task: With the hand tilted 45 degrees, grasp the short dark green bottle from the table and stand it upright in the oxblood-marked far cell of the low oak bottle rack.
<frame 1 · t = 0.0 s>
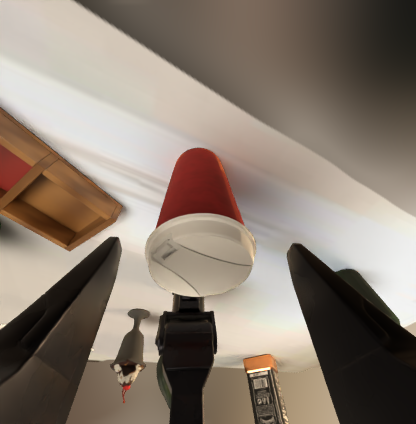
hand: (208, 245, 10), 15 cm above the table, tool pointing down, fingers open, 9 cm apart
rack: (34, 175, 23), on the table
potion bottle: (340, 277, 41), on the table
squash: (183, 344, 62), on the table
sundae: (139, 312, 47), on the table
paper cup: (199, 169, 24), on the table
whiskey bottle: (259, 359, 75), on the table
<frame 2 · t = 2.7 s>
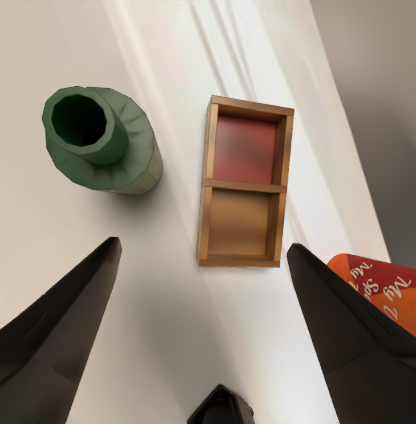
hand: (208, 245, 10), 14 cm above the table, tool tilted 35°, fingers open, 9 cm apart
bottle: (133, 166, 22), on the table
rack: (239, 187, 25), on the table
paper cup: (341, 272, 28), on the table
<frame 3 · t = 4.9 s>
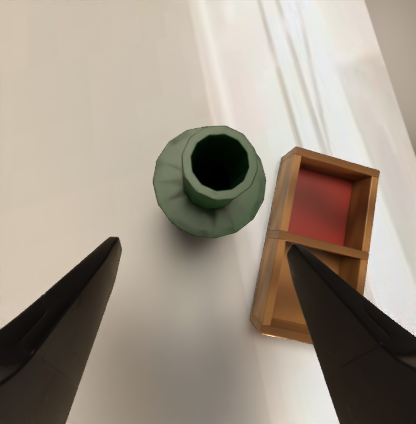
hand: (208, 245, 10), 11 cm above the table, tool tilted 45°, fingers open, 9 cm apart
bottle: (199, 204, 21), on the table
rack: (306, 243, 22), on the table
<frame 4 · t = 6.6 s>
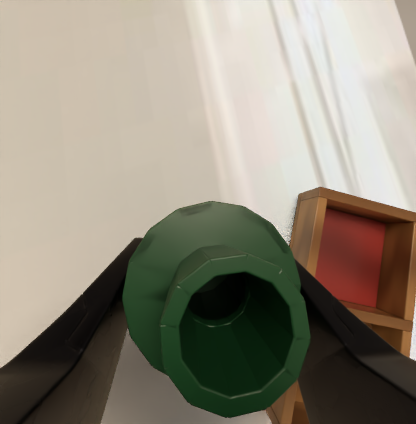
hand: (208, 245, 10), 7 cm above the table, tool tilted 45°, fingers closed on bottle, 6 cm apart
bottle: (198, 256, 17), on the table, touching gripper
rack: (329, 301, 18), on the table
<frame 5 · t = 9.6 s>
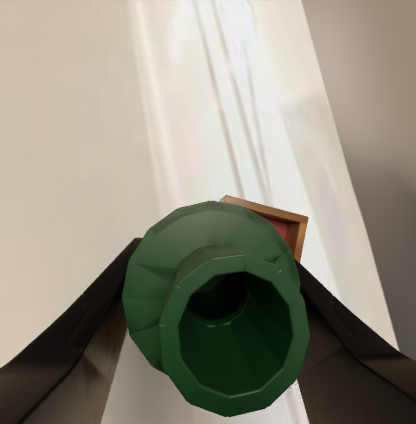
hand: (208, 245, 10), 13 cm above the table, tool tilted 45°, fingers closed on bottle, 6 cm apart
bottle: (198, 256, 17), point 6 cm above the table, touching gripper
rack: (241, 283, 23), on the table
when the fingers open (8 cm above the table, at t = 12.5 s): bottle stays where it is, resting on rack.
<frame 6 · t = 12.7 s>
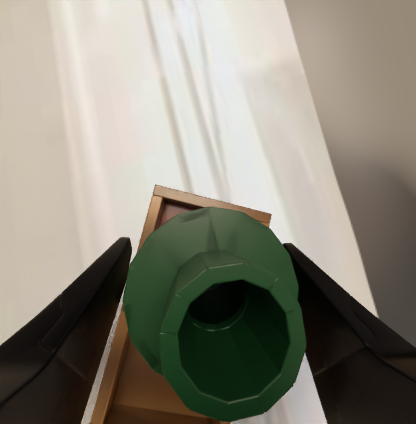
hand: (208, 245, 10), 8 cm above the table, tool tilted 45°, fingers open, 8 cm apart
bottle: (198, 258, 17), point 1 cm above the table, touching rack
rack: (186, 303, 17), on the table
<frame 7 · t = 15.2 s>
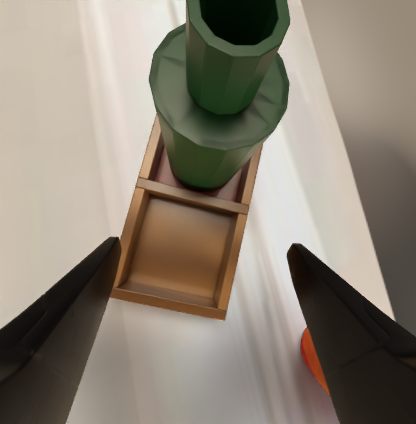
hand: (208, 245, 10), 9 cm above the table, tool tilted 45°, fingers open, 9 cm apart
bottle: (203, 159, 19), point 1 cm above the table, touching rack
rack: (192, 201, 19), on the table
paper cup: (326, 345, 19), on the table
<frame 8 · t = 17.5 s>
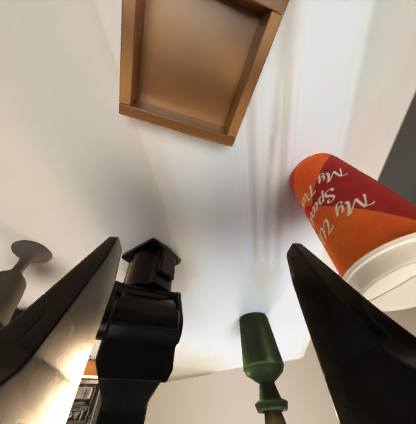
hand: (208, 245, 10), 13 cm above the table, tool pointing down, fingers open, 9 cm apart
potion bottle: (252, 317, 47), on the table
sundae: (33, 251, 29), on the table
paper cup: (313, 175, 23), on the table
whiskey bottle: (93, 363, 63), on the table
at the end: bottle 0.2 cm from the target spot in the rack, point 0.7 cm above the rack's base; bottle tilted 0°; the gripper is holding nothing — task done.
